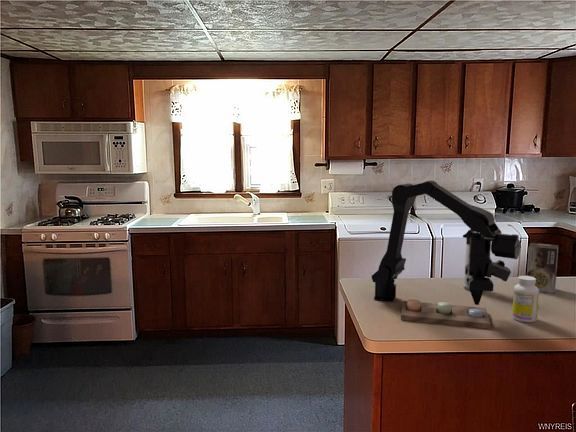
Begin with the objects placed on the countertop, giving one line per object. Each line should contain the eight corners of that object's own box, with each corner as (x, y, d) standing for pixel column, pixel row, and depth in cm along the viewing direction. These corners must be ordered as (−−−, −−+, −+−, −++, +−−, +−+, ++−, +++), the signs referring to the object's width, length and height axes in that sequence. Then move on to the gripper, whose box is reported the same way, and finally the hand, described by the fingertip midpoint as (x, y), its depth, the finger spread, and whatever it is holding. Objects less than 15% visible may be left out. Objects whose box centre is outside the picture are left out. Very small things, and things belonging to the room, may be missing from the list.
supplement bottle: (524, 313, 143) (527, 273, 141) (541, 321, 136) (545, 279, 134) (506, 316, 141) (509, 275, 138) (524, 324, 134) (527, 282, 132)
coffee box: (555, 288, 166) (559, 245, 163) (554, 293, 160) (558, 248, 158) (527, 284, 171) (530, 242, 168) (525, 289, 165) (528, 245, 163)
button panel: (400, 319, 139) (401, 315, 138) (403, 305, 151) (403, 300, 151) (490, 328, 132) (491, 323, 131) (485, 312, 144) (485, 307, 144)
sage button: (437, 313, 140) (437, 305, 139) (437, 308, 144) (437, 301, 143) (451, 314, 139) (451, 307, 138) (450, 310, 142) (451, 302, 142)
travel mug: (481, 292, 162) (485, 237, 159) (461, 289, 166) (464, 235, 162) (484, 288, 167) (488, 234, 164) (465, 285, 171) (468, 232, 168)
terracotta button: (406, 310, 142) (407, 303, 142) (407, 306, 146) (407, 298, 146) (420, 311, 141) (420, 304, 141) (420, 307, 145) (420, 300, 145)
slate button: (468, 320, 137) (469, 312, 137) (467, 315, 141) (468, 308, 141) (483, 321, 136) (483, 314, 136) (481, 316, 140) (482, 309, 140)
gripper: (515, 263, 124) (511, 318, 127) (504, 248, 142) (501, 296, 144) (471, 261, 127) (468, 314, 130) (466, 246, 145) (463, 293, 148)
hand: (476, 304), depth 138 cm, fingers closed
